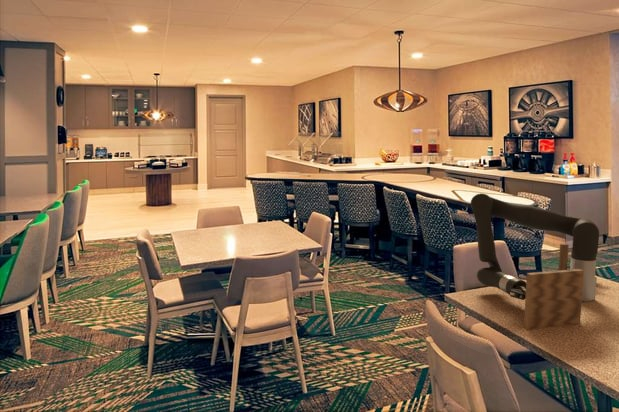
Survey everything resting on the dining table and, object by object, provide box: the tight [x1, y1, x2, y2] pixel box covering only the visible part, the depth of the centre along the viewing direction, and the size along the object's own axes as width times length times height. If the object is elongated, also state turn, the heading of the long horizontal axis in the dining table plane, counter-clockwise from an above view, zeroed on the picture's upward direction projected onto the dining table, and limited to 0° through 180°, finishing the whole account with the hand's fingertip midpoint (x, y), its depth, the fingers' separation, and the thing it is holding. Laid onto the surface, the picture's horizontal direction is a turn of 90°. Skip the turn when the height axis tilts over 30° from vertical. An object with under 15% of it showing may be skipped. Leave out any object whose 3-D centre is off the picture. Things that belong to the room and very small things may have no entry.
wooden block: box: [557, 242, 570, 271], centre depth 229 cm, size 4×11×18 cm, turn 58°
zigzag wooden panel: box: [523, 269, 584, 330], centre depth 181 cm, size 22×7×20 cm, turn 103°
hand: (541, 299), depth 185 cm, fingers closed on rail end, 3 cm apart
